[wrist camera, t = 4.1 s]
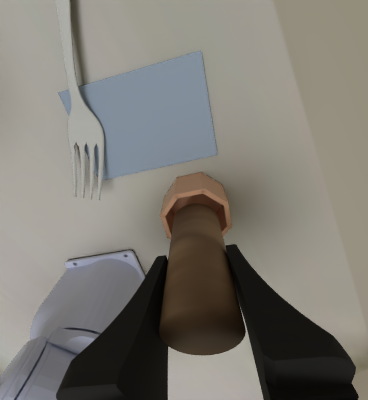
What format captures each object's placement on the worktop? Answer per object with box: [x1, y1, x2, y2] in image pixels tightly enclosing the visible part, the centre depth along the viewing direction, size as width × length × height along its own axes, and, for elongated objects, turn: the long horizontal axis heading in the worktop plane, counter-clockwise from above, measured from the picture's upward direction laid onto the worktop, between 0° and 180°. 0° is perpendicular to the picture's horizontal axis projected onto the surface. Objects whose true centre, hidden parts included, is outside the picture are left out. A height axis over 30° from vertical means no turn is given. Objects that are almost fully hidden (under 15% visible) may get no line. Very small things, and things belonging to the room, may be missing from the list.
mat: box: [58, 51, 217, 180], centre depth 17 cm, size 12×8×1 cm, turn 103°
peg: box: [159, 203, 246, 355], centre depth 13 cm, size 4×4×9 cm
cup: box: [160, 172, 232, 239], centre depth 19 cm, size 6×6×4 cm
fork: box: [55, 0, 104, 200], centre depth 14 cm, size 3×24×2 cm, turn 175°
